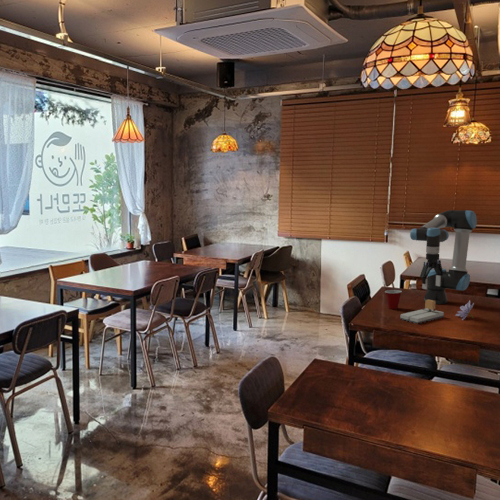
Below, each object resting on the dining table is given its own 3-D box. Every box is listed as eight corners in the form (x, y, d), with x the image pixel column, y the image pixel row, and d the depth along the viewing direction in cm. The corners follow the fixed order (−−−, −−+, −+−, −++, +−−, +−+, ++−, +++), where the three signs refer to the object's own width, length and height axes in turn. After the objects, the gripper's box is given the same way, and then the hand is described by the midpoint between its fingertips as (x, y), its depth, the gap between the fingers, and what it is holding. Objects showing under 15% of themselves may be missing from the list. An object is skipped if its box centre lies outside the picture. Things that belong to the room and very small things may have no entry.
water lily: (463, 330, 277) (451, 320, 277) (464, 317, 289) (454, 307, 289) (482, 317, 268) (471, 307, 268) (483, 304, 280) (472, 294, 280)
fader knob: (424, 313, 283) (425, 300, 282) (427, 313, 285) (428, 299, 284) (431, 315, 279) (432, 301, 278) (434, 314, 281) (435, 300, 280)
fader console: (400, 319, 276) (400, 314, 275) (426, 313, 290) (426, 307, 290) (417, 324, 266) (417, 318, 266) (443, 317, 280) (443, 311, 280)
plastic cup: (389, 305, 310) (389, 288, 308) (404, 308, 302) (404, 290, 301) (380, 308, 302) (381, 290, 301) (396, 311, 295) (396, 293, 293)
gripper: (425, 255, 267) (424, 291, 270) (450, 252, 281) (448, 285, 284) (414, 254, 274) (413, 289, 277) (439, 250, 287) (437, 283, 290)
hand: (431, 287), depth 280 cm, fingers open, 13 cm apart
